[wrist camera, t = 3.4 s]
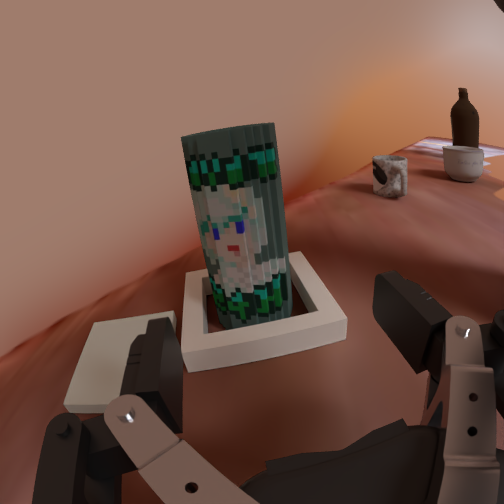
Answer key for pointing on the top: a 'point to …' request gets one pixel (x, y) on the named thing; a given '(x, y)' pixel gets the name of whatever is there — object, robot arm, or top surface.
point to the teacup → (463, 162)
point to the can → (241, 222)
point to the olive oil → (464, 122)
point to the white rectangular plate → (105, 362)
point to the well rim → (261, 335)
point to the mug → (390, 176)
